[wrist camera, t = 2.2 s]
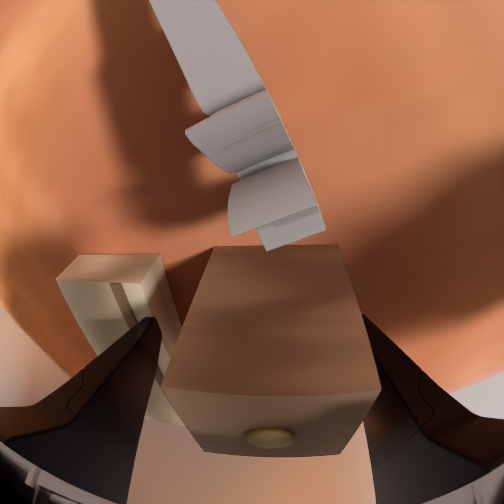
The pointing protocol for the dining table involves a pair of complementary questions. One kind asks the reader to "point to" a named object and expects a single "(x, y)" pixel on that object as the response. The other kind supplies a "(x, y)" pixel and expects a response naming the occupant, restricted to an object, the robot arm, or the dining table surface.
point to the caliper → (240, 125)
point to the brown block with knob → (273, 354)
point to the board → (124, 309)
